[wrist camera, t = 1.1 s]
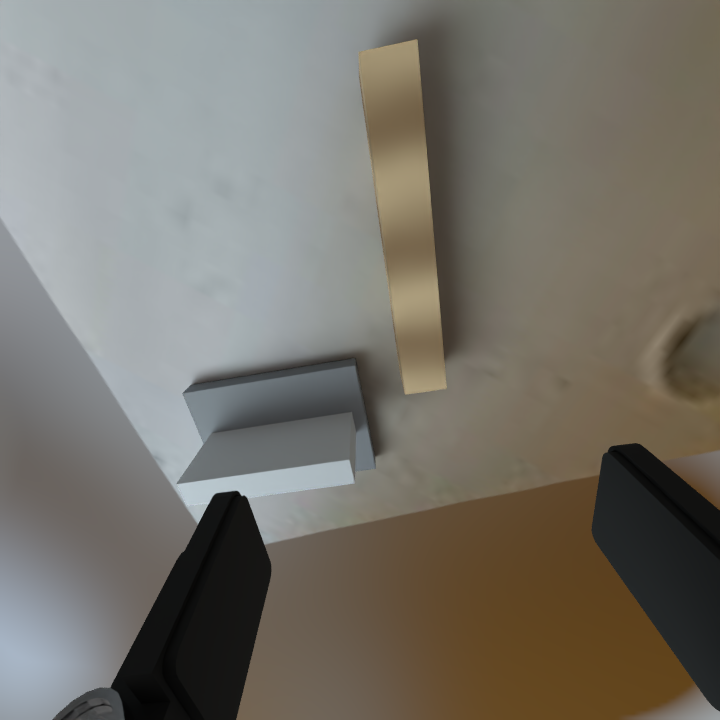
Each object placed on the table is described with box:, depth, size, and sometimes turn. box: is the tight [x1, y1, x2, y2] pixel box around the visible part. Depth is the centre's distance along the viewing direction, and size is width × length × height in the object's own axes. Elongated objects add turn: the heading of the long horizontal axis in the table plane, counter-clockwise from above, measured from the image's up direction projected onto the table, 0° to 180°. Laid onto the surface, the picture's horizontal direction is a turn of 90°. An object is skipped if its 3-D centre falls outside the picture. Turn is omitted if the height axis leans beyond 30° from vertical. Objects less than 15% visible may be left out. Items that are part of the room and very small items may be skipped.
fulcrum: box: [176, 358, 376, 506], centre depth 27 cm, size 10×14×8 cm
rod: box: [359, 39, 447, 395], centre depth 23 cm, size 20×3×4 cm, turn 10°
